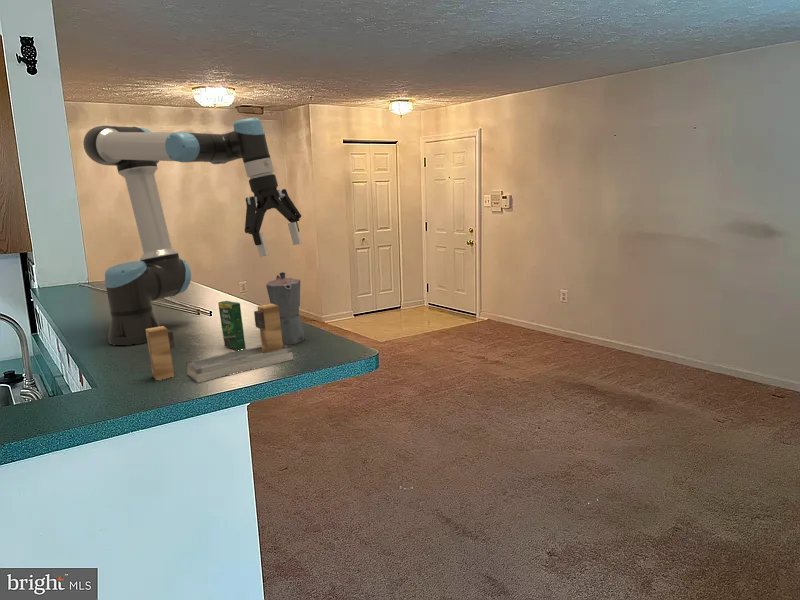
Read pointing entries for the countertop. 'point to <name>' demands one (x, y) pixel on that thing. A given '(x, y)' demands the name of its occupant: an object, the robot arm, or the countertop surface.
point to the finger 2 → (269, 327)
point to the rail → (236, 362)
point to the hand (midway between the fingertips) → (281, 250)
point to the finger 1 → (160, 351)
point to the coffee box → (232, 325)
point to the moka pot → (287, 307)
